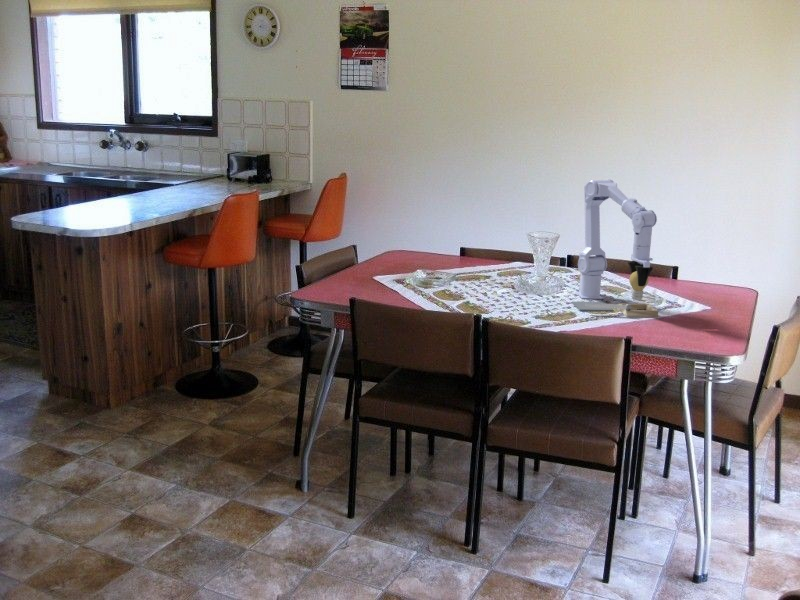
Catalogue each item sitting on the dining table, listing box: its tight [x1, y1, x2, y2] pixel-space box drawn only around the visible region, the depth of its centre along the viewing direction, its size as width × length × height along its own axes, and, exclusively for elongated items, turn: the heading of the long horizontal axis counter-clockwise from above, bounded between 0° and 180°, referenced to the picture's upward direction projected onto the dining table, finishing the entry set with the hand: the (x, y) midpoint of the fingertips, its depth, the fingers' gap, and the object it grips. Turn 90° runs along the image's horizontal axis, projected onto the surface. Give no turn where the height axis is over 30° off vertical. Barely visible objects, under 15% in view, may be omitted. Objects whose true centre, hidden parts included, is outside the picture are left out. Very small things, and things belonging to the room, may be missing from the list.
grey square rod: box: [585, 303, 632, 310], centre depth 293 cm, size 15×2×2 cm, turn 82°
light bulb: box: [629, 271, 650, 301], centre depth 295 cm, size 6×6×10 cm
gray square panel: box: [571, 301, 614, 312], centre depth 305 cm, size 12×12×1 cm
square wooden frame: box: [617, 303, 659, 318], centre depth 297 cm, size 11×11×2 cm
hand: (638, 283), depth 295 cm, fingers closed on light bulb, 6 cm apart
